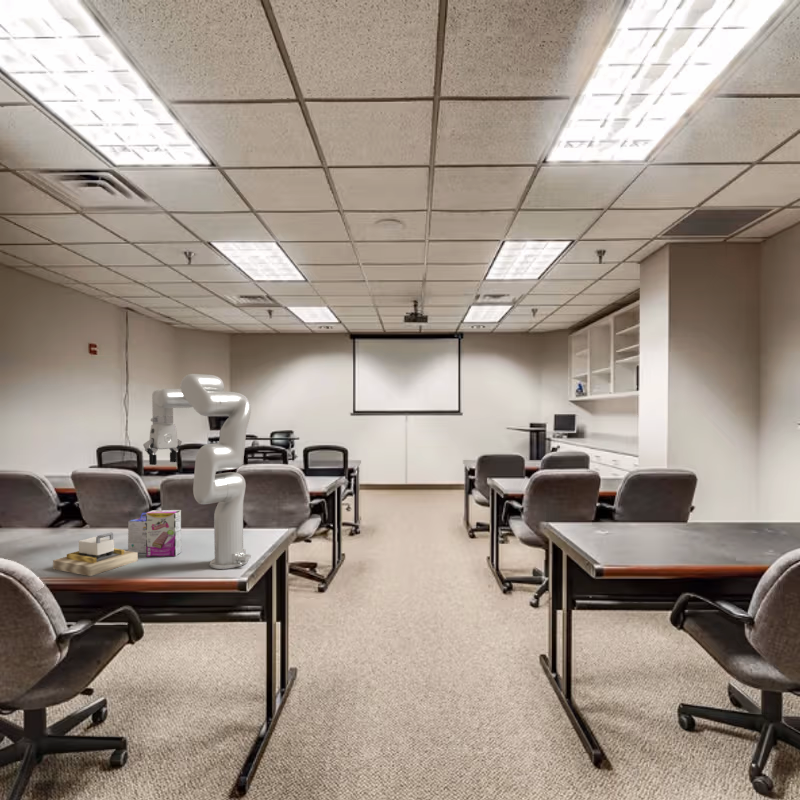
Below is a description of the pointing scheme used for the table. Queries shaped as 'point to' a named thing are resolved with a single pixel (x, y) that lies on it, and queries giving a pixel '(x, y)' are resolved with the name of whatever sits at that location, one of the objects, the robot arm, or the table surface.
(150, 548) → the candy bar box
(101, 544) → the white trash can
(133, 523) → the ink cartridge box
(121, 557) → the dock
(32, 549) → the table surface
